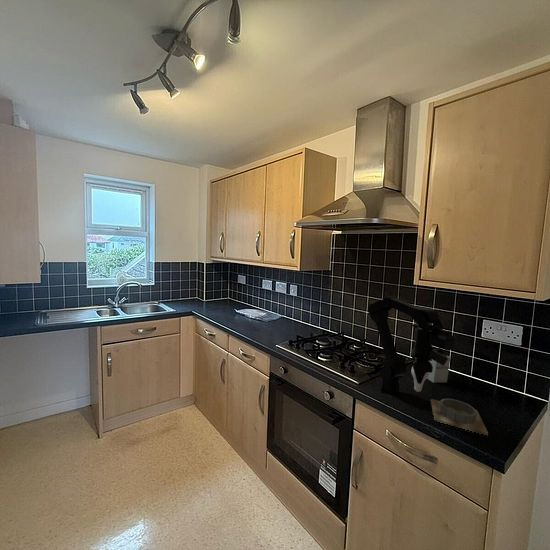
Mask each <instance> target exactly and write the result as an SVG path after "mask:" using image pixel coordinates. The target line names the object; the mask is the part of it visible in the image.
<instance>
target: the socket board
mask: <svg viewBox="0 0 550 550" xmlns="http://www.w3.org/2000/svg"><path fill="white" fill-rule="evenodd" d="M430 406H431V410H432V415H434V417H433V421H434V420H435V421H437V422H440V423H444V424H448V425H451V426H455V427H458V428H462V429H465V430H464V431H466V430H469V431H468V432H470V431H472V432H471V433H474V432H476V433H475V434H477V433H479V434H478V435H481V434H484V435H483V436H485V435H487V436H486V437H488V436H489V432H488V430H487V427H486V426H485V424H484V421H483V420H482V416H481V415H480V414H479V411H478V409H475V408H474V407H473V406H472V405H470V404H469V403H466V402H464V401H462V400H458V399H453V398H442V399H440V400H437V399H432V398H431V399H430ZM451 426H450V427H451ZM455 427H454V428H455ZM458 428H457V429H458ZM462 429H461V430H462Z"/></svg>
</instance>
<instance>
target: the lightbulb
mask: <svg viewBox="0 0 550 550" xmlns="http://www.w3.org/2000/svg"><path fill="white" fill-rule="evenodd" d="M410 371H411V376H412V377H413V385H414V386H413V389H414V391H416V392H417V393H420V392H422V389H423V386H424V383H425V382H426V380H428V379H427V377H428V375H429V372H427V373H426V374H425V376H424V378H423V380H422V382H421V384H418V383H417V379H416V376H415V372H414V369H413V366H412V367H411V370H410Z"/></svg>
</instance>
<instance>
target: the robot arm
mask: <svg viewBox="0 0 550 550" xmlns="http://www.w3.org/2000/svg"><path fill="white" fill-rule="evenodd" d="M392 309H394V310H397V311H398V312H401V313H404V314H406V315H408V316H409V317H411V319H412V320H413V321H414V322H415V323H414V324H412V325H411V326H412V328H415V329H416V333H415V335H416V336H415V341H414V348H412V349H411V360H412V367H413V369H414V372H415V376H416V379H417V383H418V384H421V382H422V380H423V378H424V376H425V374H426V373H427V372H430V373H432V370H433V366H432V364H431V363H430V361H432V359H433V360H434V361H436V362H438V363H440V364H441V365H443V366H444V365H445V363H446V362H447V360H448V357H449V356H448V355H447V356H448V357H447V356H446V353H444V350H445V351H448V352H449V351H451V350H453V348H454V347H455V344H456V339H455V336H454V335H453V331H451V330H446V329H445V328H444V325H443V323H442V322H441V319H440V317H439V313H438V311H437V310H436V309H433V308H428V307H423V306H416V305H413V304H411V303H410V302H407V301H404V300H403V299H399V298H397V297H395V296H385V297H383V298H382V299H380V300H378V301H375V302H373V303H370V304H369V305H368V308H367V312H368V314H369V316H370V319H371V320H372V321H373V322H374V323H375V325H376V328H377V332H378V335H379V339H380V342H381V346H382V349H383V353H384V361H383V366H384V367H383V368H381V369H380V370H379V371H378V373H379V377H381V378H382V379H381V381H382V382H381V388H380V392H381V393H384V394H389V395H392V396H393V395H394V396H398V393H399V390H400V383H401V382H400V380H399V379H402V378H403V377H404V376H405V374H406V372H407V371H408V370H407V367H408V365H407V363H406V361H405V357H404V356H400V355H399V354H398V352H397V348H396V346H395V342H394V339H393V336H392V333H391V329H390V325H389V321H388V319H389V316H390V313H389V312H390V311H391V310H392ZM433 346H434V347H436V348H437V349H436V348H434V347H433Z"/></svg>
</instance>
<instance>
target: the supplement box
mask: <svg viewBox="0 0 550 550" xmlns="http://www.w3.org/2000/svg"><path fill="white" fill-rule="evenodd" d="M446 356H447V357H448V360H447V362H446V363H445V365H444V366H443V365H441V364H440V363H438V362H436V361H434V360H433V359H432V361H430V363H431V364H432V366H433V370H432V373H430V372H429V375H428V377H427V379H426V380H429V381H430V382H431V383H432V384H433V383H448V375H449V370H450V363H451V357H450V356H448V355H446Z"/></svg>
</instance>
